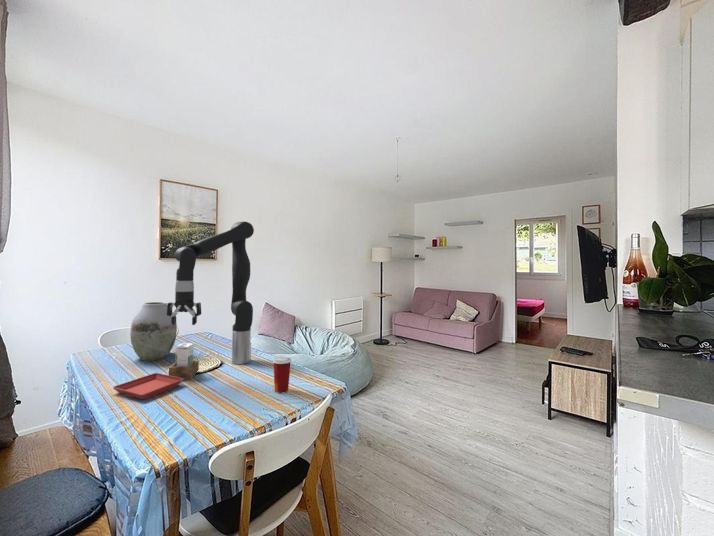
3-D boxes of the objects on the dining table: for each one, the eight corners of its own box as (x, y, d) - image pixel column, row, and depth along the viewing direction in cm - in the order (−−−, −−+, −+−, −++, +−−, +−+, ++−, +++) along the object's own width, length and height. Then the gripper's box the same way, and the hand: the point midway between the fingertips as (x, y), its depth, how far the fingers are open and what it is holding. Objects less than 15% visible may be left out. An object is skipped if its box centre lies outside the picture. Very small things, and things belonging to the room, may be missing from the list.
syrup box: (180, 373, 146) (181, 343, 146) (193, 373, 147) (193, 343, 146) (174, 377, 140) (174, 346, 140) (187, 377, 141) (188, 346, 141)
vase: (184, 356, 172) (185, 302, 171) (141, 366, 154) (142, 307, 153) (164, 349, 183) (165, 299, 183) (122, 358, 165) (123, 303, 165)
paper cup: (294, 388, 132) (294, 356, 132) (284, 395, 125) (285, 361, 125) (278, 385, 135) (279, 354, 134) (268, 392, 127) (268, 359, 127)
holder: (198, 371, 149) (198, 360, 149) (191, 378, 140) (191, 366, 140) (177, 372, 147) (177, 360, 147) (168, 379, 138) (168, 367, 138)
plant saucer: (111, 394, 122) (111, 386, 122) (155, 379, 139) (155, 372, 139) (141, 403, 116) (141, 394, 116) (184, 386, 132) (184, 378, 132)
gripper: (203, 289, 148) (203, 323, 148) (172, 289, 146) (171, 323, 146) (197, 291, 140) (197, 326, 140) (164, 290, 138) (163, 326, 138)
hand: (184, 324), depth 143 cm, fingers open, 8 cm apart
